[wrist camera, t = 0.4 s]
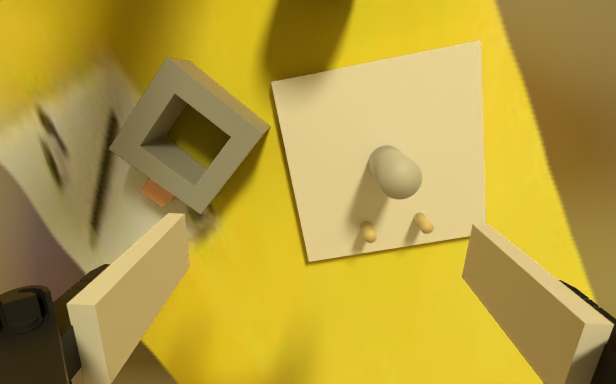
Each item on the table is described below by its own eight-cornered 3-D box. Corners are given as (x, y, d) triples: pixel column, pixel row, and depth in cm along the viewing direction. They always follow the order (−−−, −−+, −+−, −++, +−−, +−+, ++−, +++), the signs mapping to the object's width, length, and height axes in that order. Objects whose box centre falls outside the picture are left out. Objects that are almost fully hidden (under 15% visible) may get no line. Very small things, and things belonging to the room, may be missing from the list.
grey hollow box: (190, 61, 36) (167, 57, 31) (270, 126, 38) (263, 133, 33) (121, 165, 40) (89, 178, 34) (198, 219, 42) (180, 240, 36)
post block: (272, 82, 37) (261, 81, 29) (475, 41, 35) (521, 29, 28) (308, 257, 44) (308, 295, 36) (481, 229, 42) (519, 262, 34)
